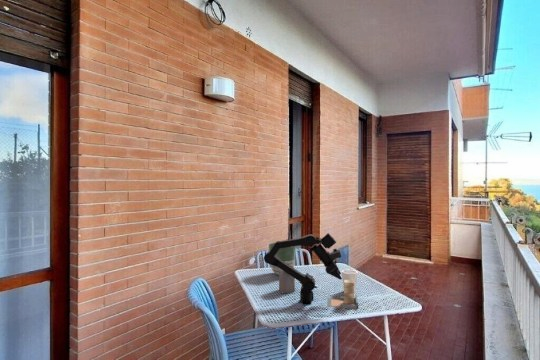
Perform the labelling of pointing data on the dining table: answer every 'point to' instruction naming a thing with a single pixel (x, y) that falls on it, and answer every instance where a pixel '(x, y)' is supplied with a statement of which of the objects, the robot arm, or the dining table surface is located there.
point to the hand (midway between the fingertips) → (340, 276)
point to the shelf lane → (342, 303)
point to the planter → (284, 256)
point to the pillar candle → (286, 282)
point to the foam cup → (350, 276)
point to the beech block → (349, 292)
